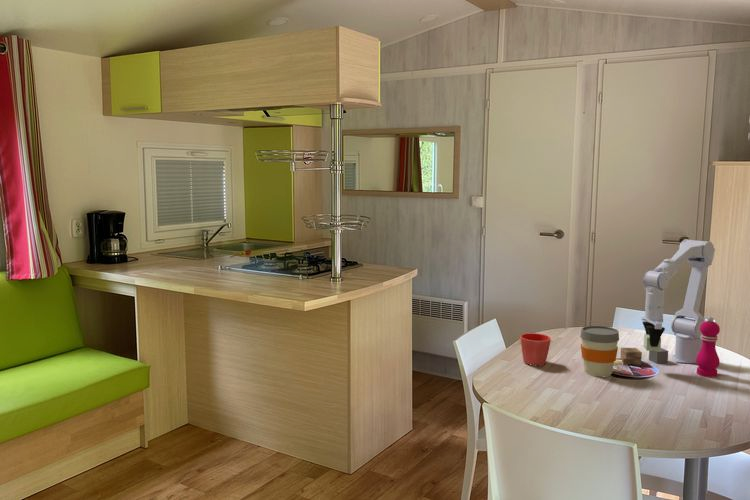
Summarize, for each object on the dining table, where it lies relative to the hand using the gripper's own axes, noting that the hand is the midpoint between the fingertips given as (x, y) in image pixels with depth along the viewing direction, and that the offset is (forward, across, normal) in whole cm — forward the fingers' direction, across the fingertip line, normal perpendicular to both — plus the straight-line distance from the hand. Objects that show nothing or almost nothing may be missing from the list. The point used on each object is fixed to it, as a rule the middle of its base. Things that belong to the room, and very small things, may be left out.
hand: (652, 344), depth 220 cm
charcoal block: (+10, -12, +5) cm, 16 cm away
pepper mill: (+10, +1, +18) cm, 20 cm away
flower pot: (+10, -2, -39) cm, 40 cm away
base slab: (+10, -9, -5) cm, 14 cm away
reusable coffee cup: (+10, +5, -18) cm, 21 cm away
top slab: (+7, -8, -5) cm, 12 cm away
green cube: (+2, 0, 0) cm, 2 cm away
